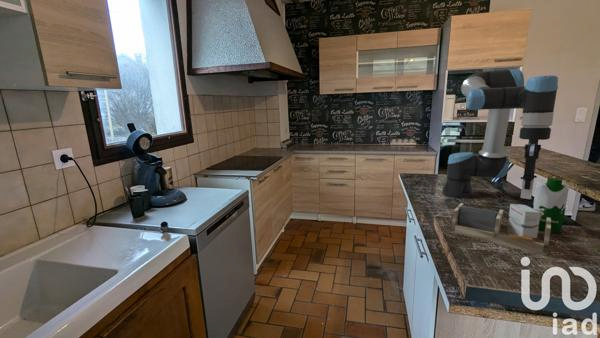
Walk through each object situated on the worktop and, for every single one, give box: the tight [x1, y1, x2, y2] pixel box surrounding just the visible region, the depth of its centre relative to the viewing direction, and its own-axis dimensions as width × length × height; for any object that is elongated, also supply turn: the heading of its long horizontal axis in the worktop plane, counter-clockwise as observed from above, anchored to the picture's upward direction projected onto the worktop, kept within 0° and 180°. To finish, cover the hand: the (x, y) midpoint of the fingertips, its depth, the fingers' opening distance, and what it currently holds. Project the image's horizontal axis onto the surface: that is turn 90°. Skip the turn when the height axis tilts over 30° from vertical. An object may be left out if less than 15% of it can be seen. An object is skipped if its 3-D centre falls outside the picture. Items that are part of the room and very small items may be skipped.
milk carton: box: [532, 177, 570, 234], centre depth 104 cm, size 9×9×20 cm
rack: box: [450, 202, 551, 257], centre depth 98 cm, size 12×27×9 cm, turn 48°
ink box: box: [507, 203, 541, 242], centre depth 93 cm, size 9×5×12 cm, turn 171°
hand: (525, 197), depth 91 cm, fingers open, 2 cm apart
